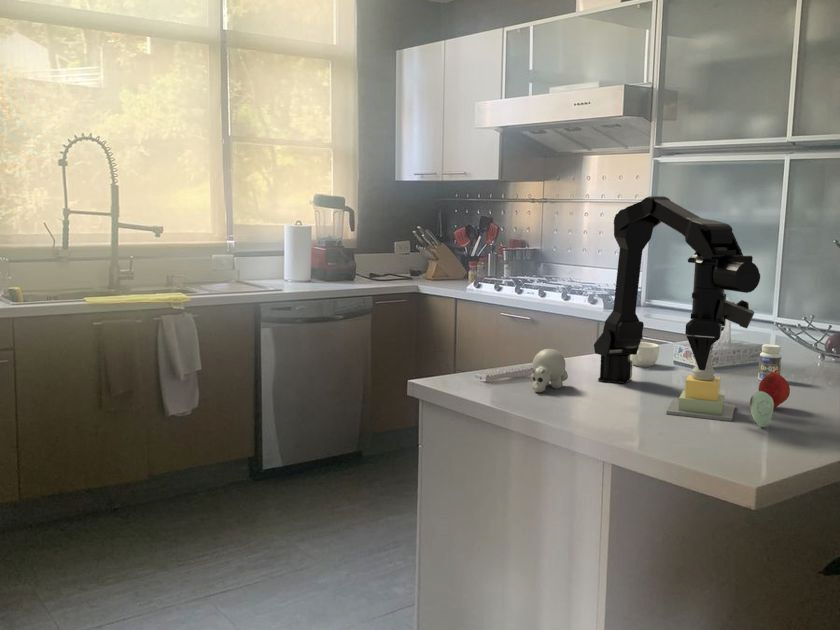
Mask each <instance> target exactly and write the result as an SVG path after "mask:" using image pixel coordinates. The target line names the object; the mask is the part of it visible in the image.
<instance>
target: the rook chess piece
mask: <svg viewBox="0 0 840 630" xmlns="http://www.w3.org/2000/svg"><path fill="white" fill-rule="evenodd" d="M714 345H715V343H714V344H712V345H711V347H712V346H713V347H714ZM712 353H713V350H712V351H711V349H710V353H709V357H708V361H707V364H706V368H705V370H699V368H698V365H697V363H695V365H694V367H693V368H692V370H691V372H692V374H691V375H692V377H693V378H694V379H696V380H703V381H711V380H713V379H714V378H715V377H716V376H715V373H716V371H715V369H714V366H713V364H712Z"/></svg>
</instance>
